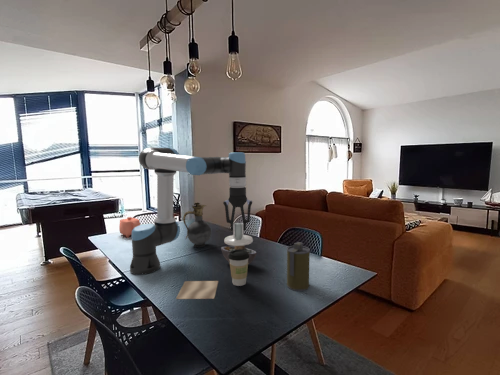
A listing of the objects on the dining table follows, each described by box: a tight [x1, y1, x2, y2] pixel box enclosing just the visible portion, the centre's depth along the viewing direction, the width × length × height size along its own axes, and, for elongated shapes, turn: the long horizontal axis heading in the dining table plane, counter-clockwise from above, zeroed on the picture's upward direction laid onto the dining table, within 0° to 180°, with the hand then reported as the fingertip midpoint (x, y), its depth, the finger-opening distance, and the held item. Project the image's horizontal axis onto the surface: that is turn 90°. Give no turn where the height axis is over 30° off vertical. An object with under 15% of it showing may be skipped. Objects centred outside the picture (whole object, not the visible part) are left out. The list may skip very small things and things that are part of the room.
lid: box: [224, 222, 254, 247], centre depth 121 cm, size 13×13×8 cm
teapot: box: [119, 216, 141, 238], centre depth 206 cm, size 22×13×14 cm, turn 46°
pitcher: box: [182, 201, 212, 248], centre depth 176 cm, size 11×19×30 cm, turn 131°
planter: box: [220, 245, 257, 265], centre depth 145 cm, size 15×17×20 cm
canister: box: [286, 241, 311, 292], centre depth 120 cm, size 11×10×20 cm
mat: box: [175, 280, 219, 300], centre depth 118 cm, size 16×16×1 cm
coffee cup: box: [228, 249, 249, 287], centre depth 123 cm, size 10×10×15 cm
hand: (238, 237), depth 122 cm, fingers closed on lid, 3 cm apart
